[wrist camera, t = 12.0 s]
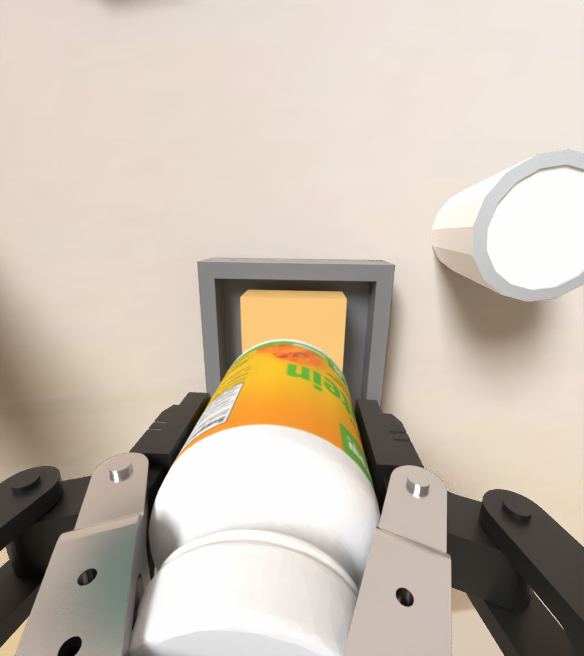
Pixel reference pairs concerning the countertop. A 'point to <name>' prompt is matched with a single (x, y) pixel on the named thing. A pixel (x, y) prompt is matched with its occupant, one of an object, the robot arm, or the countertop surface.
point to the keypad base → (300, 275)
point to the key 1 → (295, 319)
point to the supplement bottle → (262, 516)
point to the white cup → (519, 228)
